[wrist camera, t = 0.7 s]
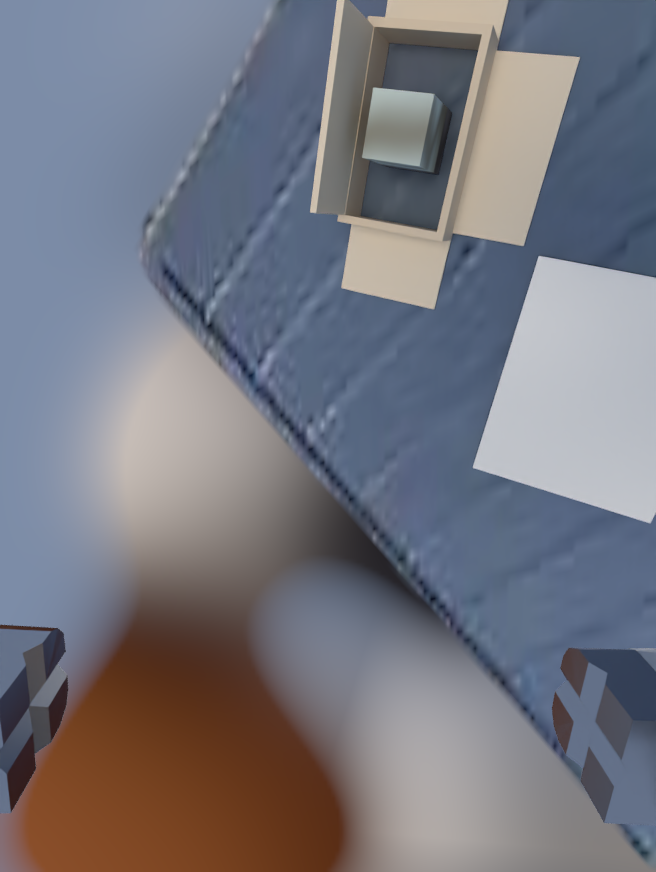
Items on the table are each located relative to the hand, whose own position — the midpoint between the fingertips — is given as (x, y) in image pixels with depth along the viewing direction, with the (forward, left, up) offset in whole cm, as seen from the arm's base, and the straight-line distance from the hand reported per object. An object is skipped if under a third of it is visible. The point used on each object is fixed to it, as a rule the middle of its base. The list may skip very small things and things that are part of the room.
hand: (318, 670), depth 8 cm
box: (-12, -11, -43) cm, 46 cm away
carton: (-12, -8, -43) cm, 45 cm away
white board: (+5, +9, -43) cm, 44 cm away
